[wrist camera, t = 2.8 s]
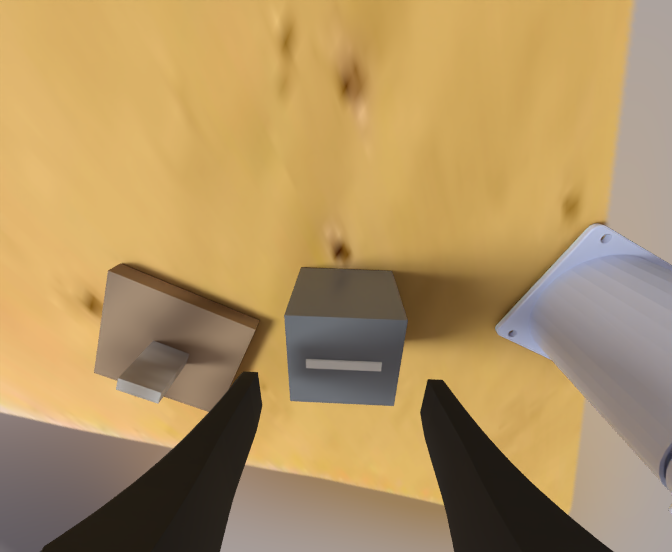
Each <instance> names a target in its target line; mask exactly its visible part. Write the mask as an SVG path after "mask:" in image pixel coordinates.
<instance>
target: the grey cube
mask: <svg viewBox="0 0 672 552" xmlns="http://www.w3.org/2000/svg"><path fill="white" fill-rule="evenodd" d="M284 317H285V331H286V345H287V360H288V374H289V388H290V401H301V402H322V403H343V404H364V405H385V406H394V401H395V395H396V389H397V383H398V377H399V371H400V365H401V359H402V353H403V346H404V340H405V334H406V328H407V322H408V319H407V316H406V313H405V310H404V307H403V304H402V301H401V298H400V294H399V291H398V288H397V285H396V282H395V279H394V276H393V273H392V271H383V270H355V269H328V268H301V269H300V272H299V275H298V278H297V281H296V283H295V286H294V289H293V292H292V295H291V298H290V301H289V304H288V306H287V309H286V312H285V315H284Z"/></svg>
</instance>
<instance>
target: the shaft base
mask: <svg viewBox="0 0 672 552" xmlns="http://www.w3.org/2000/svg"><path fill="white" fill-rule="evenodd" d="M259 321H260V320H257V319H255V318H252V317H250V316H248V315H245V314H243V313H240V312H238V311H235V310H233V309H230V308H228V307H226V306H223V305H221V304H218V303H216V302H213V301H211V300H208V299H206V298H204V297H201V296H199V295H196V294H194V293H191V292H189V291H186V290H184V289H182V288H179V287H177V286H174V285H172V284H169V283H167V282H164V281H162V280H160V279H157V278H155V277H152V276H150V275H147V274H145V273H142V272H140V271H138V270H135V269H133V268H130V267H128V266H125V265H123V264H119V265H117V266H115V267H114V268H112V269H110V270H108V275H107V283H106V290H105V297H104V304H103V311H102V319H101V326H100V333H99V340H98V348H97V355H96V362H95V369H94V373H96V374H99V375H102V376H105V377H108V378H111V379H114V380H117V381H118V382H117V387H116V390H119V391H122V392H125V393H128V394H131V395H134V396H137V397H140V398H143V399H146V400H149V401H152V402H155V403H159V402H160V400H161V399H162V398H163V396H164V397H167V398H170V399H173V400H176V401H179V402H181V403H184V404H187V405H190V406H193V407H196V408H199V409H202V410H205V411H208V412H209V411H210V410H211V409H212V408H213V407H214V406H215V405H216V404H217V402H218V401H219V400H220V399H221V398H222V397H223V395H224V394H225V393H226V392H227V391H228V389H229V387H230V385H231V383H232V381H233V379H234V376H235V374H236V372H237V370H238V368H239V365H240V363H241V361H242V359H243V357H244V354H245V352H246V350H247V348H248V346H249V343H250V341H251V339H252V337H253V335H254V332H255V330H256V328H257V326H258V324H259Z"/></svg>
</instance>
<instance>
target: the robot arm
mask: <svg viewBox="0 0 672 552" xmlns="http://www.w3.org/2000/svg"><path fill="white" fill-rule="evenodd" d="M604 235H605V237H604V239H602V240H601V238H602V236H604ZM495 330H496V332H497V333H498V334H499V335H500V336H502V337H504V338H506V339H508V340H510V341H512V342H514V343H516V344H519V345H521V346H523V347H525V348H527V349H529V350H531V351H534V352H536V353H538V354H540V355H542V356H544V357H546V358H548V359H551V360H552V361H553V362H554V363H555V364H556V366H557V367H558V368H559V369H560V370H561V371H562V372H563V373H564V374H565V376H566V377H567V378H568V379H569V380H570V381H571V382H572V383H573V384H574V386H575V387H576V388H577V389H578V390H579V391H580V392H581V393H582V394H583V396H584V397H585V398H586V399H587V400H588V401H589V402H590V403H591V404H592V406H593V407H594V408H595V409H596V410H597V411H598V412H599V413H600V414H601V416H602V417H603V418H604V419H605V420H606V421H607V422H608V423H609V424H610V425H611V427H612V428H613V429H614V430H615V431H616V432H617V433H618V434H619V436H620V437H621V438H622V439H623V440H624V441H625V442H626V443H627V444H628V446H629V447H630V448H631V449H632V450H633V451H634V452H635V453H636V454H637V456H638V457H639V458H640V459H641V460H642V461H643V462H644V463H645V465H646V466H647V467H648V468H649V469H650V470H651V471H652V472H653V474H654V475H655V476H656V477H657V478H658V479H659V480H660V481H661V482H662V484H663V485H664V486H665V487H666V488H667V489H668V490H669V491H670V493H671V495H672V265H671V264H669V263H667V262H666V261H664V260H662V259H661V258H659V257H657V256H655V255H654V254H652V253H651V252H649V251H647V250H646V249H644V248H642V247H641V246H639V245H637V244H636V243H634V242H632V241H630V240H629V239H627V238H625V237H624V236H622V235H621V234H619V233H617V232H616V231H614V230H612V229H610V228H609V227H607V226H605V225H602V224H599V223H597V224H593V225H590V226H589V227H588V228H587V229H586V230H585V231H584V232H583V233H582V234H581V235H580V236H579V237H578V238H577V239H576V240H575V241H574V243H573V244H572V245H571V246H570V247H569V248H568V249H567V250H566V251H565V252H564V253H563V254H562V255H561V256H560V258H559V259H558V260H557V261H556V262H555V263H554V264H553V265H552V266H551V267H550V268H549V269H548V270H547V271H546V272H545V274H544V275H543V276H542V277H541V278H540V279H539V280H538V281H537V282H536V283H535V284H534V285H533V286H532V287H531V289H530V290H529V291H528V292H527V293H526V294H525V295H524V296H523V297H522V298H521V299H520V300H519V301H518V302H517V303H516V305H515V306H514V307H513V308H512V309H511V310H510V311H509V312H508V313H507V314H506V315H505V316H504V317H503V318H502V320H501V321H500V322H499V323H498V324H497V325H496V327H495ZM512 330H513V331H512ZM510 331H512V332H511V333H509V332H510ZM261 409H262V400H261V393H260V385H259V378H258V372H243V373H241V375H240V376H239V377H238V378H237V380H236V381H235V382H234V383H233V385H232V386H231V387H230V388H229V389H228V391H227V392H226V393H225V394H224V395H223V397H222V398H221V399H220V400H219V401H218V402H217V404H216V405H215V406H214V407H213V408H212V409H211V410H210V411H209V413H208V414H207V415H206V416H205V417H204V418H203V419H202V420H201V421H200V422H199V423H198V424H197V425H196V426H195V427H194V428H193V430H192V431H191V432H190V433H189V434H188V435H187V436H186V437H185V438H184V439H183V440H182V441H181V442H180V443H178V444H177V445H176V446H175V447H174V448H173V449H172V450H171V451H170V452H169V453H168V454H167V455H166V456H164V457H163V458H162V459H161V460H160V461H159V462H158V463H156V464H155V465H154V466H153V467H152V468H151V469H149V470H148V471H147V472H146V473H145V474H144V475H142V476H141V477H140V478H139V479H137V480H136V481H135V482H134V483H133V484H131V485H130V486H129V487H127V488H126V489H125V490H123V491H122V492H121V493H119V494H118V495H117V496H116V497H114V498H113V499H112V500H110V501H109V502H108V503H106V504H105V505H104V506H102V507H101V508H100V509H98V510H97V511H96V512H94V513H93V514H91V515H90V516H88V517H87V518H86V519H84V520H83V521H81V522H80V523H78V524H77V525H76V526H74V527H72V528H71V529H70V530H68V531H66V532H65V533H64V534H62V535H61V536H59V537H58V538H56V539H55V540H53V541H52V542H50V543H49V544H47V545H45V546H44V547H43V549H42V550H41V551H40V552H220V549H221V545H222V541H223V537H224V533H225V529H226V524H227V521H228V517H229V513H230V509H231V505H232V502H233V498H234V495H235V492H236V489H237V486H238V483H239V479H240V477H241V474H242V471H243V469H244V466H245V463H246V460H247V457H248V454H249V451H250V448H251V445H252V443H253V440H254V437H255V434H256V431H257V427H258V422H259V418H260V414H261ZM420 414H421V420H422V426H423V431H424V436H425V440H426V444H427V447H428V451H429V454H430V458H431V461H432V465H433V468H434V471H435V475H436V478H437V481H438V485H439V488H440V492H441V495H442V498H443V502H444V506H445V510H446V514H447V518H448V523H449V528H450V533H451V537H452V542H453V548H454V552H613V551H612V550H611V549H609V548H608V547H607V546H605V545H604V544H603V543H602V542H600V541H599V540H598V539H596V538H595V537H594V536H593V535H592V534H590V533H589V532H588V531H587V530H585V529H584V528H583V527H581V526H580V525H579V524H578V523H577V522H575V521H574V520H573V519H572V518H571V517H570V516H568V515H567V514H566V513H565V512H564V511H563V510H562V509H560V508H559V507H558V506H557V505H556V504H555V503H554V502H553V501H551V500H550V499H549V498H548V497H547V496H546V495H545V494H543V493H542V492H541V491H540V490H539V489H538V488H537V487H536V486H535V485H534V484H533V483H532V482H530V481H529V480H528V479H527V478H526V477H525V476H524V475H523V474H522V473H521V472H520V471H519V470H518V469H517V468H516V467H515V466H514V465H513V464H512V463H511V462H510V461H509V460H508V458H507V457H506V456H505V455H504V454H503V453H502V452H501V451H500V450H499V449H498V448H497V447H496V445H495V444H494V443H493V442H492V441H491V440H490V439H489V438H488V436H487V435H486V434H485V433H484V432H483V431H482V429H481V428H480V427H479V426H478V425H477V423H476V422H475V421H474V420H473V419H472V417H471V416H470V415H469V414H468V412H467V411H466V410H465V409H464V407H463V406H462V405H461V403H460V402H459V401H458V399H457V398H456V397H455V395H454V394H453V393H452V392H451V390H450V389H449V387H448V386H447V385H446V383H445V382H444V381H443V380H432V379H428V381H427V385H426V390H425V394H424V398H423V403H422V407H421V412H420ZM668 511H669V512H670V513H671V514H672V505H671V506H670V508H669V510H668Z"/></svg>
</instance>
